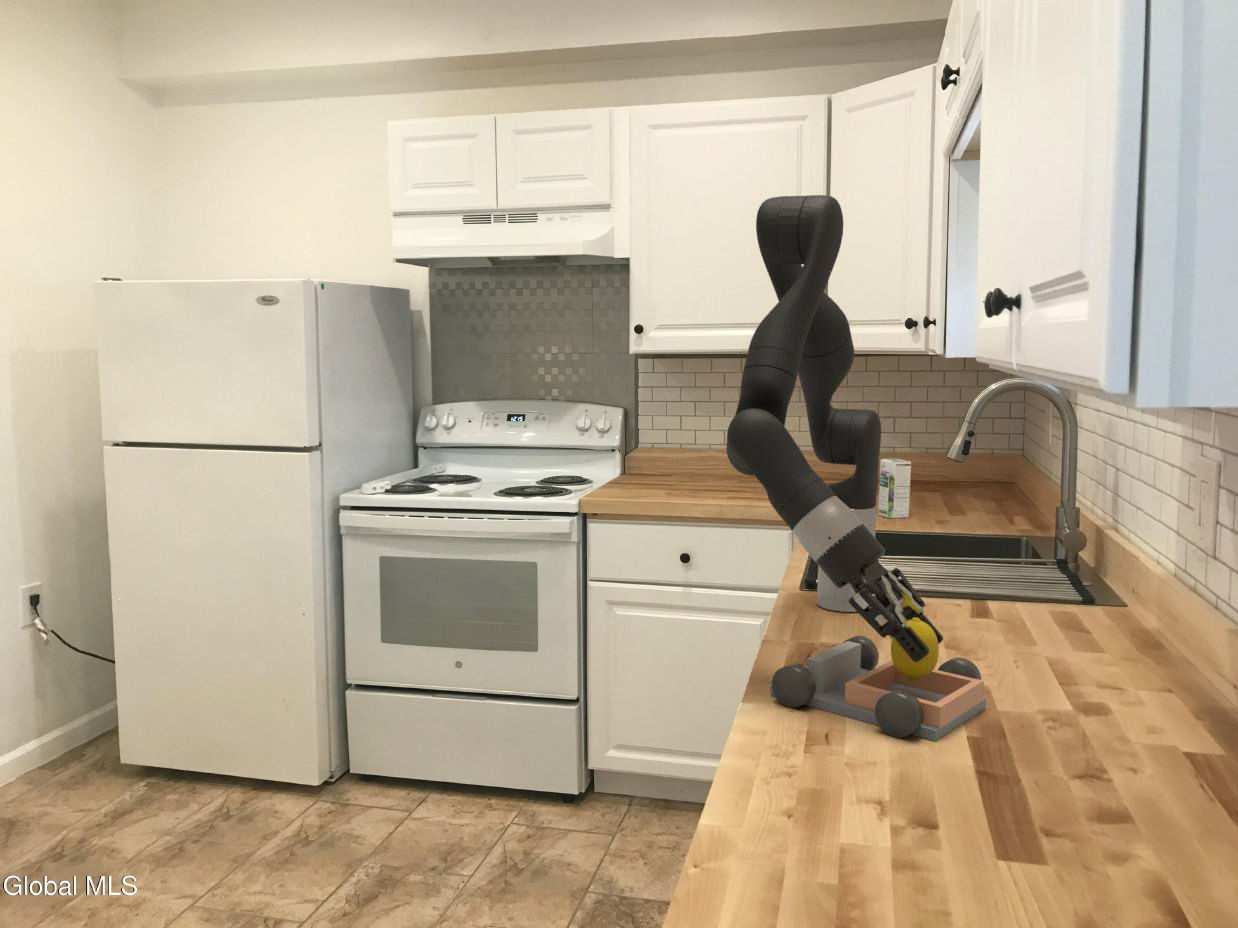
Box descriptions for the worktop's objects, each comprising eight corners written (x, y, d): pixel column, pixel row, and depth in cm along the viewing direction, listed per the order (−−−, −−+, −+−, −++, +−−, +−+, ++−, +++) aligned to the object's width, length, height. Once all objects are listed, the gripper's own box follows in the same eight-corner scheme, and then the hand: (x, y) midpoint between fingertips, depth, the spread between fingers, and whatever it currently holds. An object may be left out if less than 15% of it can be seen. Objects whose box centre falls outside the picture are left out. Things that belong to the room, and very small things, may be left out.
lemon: (905, 691, 119) (908, 625, 118) (880, 676, 125) (883, 612, 124) (946, 687, 121) (949, 622, 120) (920, 672, 126) (923, 610, 125)
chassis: (835, 665, 140) (836, 628, 140) (992, 703, 126) (994, 662, 125) (761, 699, 127) (762, 659, 127) (927, 746, 113) (929, 701, 112)
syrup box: (877, 515, 260) (879, 458, 259) (897, 513, 262) (899, 458, 260) (889, 518, 255) (891, 461, 253) (910, 517, 257) (912, 460, 255)
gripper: (838, 531, 118) (938, 648, 114) (877, 514, 130) (969, 618, 126) (794, 570, 122) (889, 685, 117) (836, 549, 134) (923, 653, 129)
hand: (930, 650), depth 121 cm, fingers closed on lemon, 5 cm apart
